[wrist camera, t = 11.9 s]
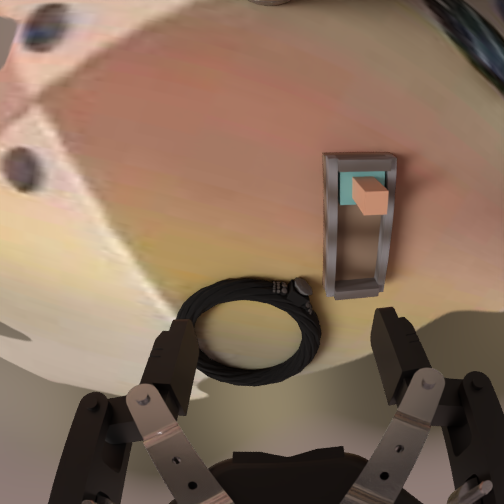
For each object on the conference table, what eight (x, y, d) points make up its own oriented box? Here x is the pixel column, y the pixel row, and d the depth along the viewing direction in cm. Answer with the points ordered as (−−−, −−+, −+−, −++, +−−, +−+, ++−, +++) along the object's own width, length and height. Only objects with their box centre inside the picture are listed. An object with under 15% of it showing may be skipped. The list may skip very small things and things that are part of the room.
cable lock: (149, 351, 58) (233, 244, 45) (154, 337, 61) (235, 232, 49) (261, 403, 65) (363, 328, 52) (261, 390, 69) (358, 314, 56)
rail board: (322, 153, 41) (328, 160, 37) (389, 152, 40) (401, 159, 37) (322, 284, 52) (326, 300, 48) (378, 279, 51) (385, 295, 47)
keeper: (337, 166, 41) (351, 183, 34) (381, 166, 40) (401, 182, 33) (337, 201, 43) (350, 223, 36) (379, 199, 42) (398, 221, 36)
